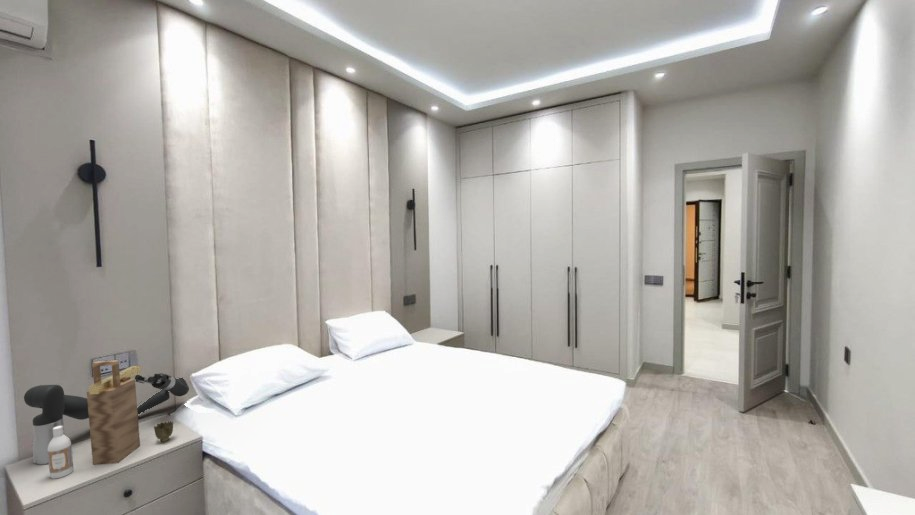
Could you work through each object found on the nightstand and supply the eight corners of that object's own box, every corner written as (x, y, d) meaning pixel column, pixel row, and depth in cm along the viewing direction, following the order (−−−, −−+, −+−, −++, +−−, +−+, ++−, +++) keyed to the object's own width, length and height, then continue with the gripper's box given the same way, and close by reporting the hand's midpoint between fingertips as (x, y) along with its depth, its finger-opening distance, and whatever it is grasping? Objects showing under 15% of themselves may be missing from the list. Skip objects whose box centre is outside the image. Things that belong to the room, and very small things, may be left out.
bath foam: (47, 481, 159) (43, 433, 158) (52, 473, 165) (48, 426, 163) (71, 475, 163) (67, 428, 161) (75, 467, 168) (71, 421, 167)
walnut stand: (92, 465, 170) (84, 365, 167) (116, 447, 183) (109, 355, 181) (118, 462, 171) (110, 364, 168) (140, 445, 185) (133, 354, 182)
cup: (166, 444, 185) (165, 428, 185) (151, 445, 185) (149, 428, 185) (178, 436, 192) (176, 420, 192) (163, 436, 193) (162, 420, 192)
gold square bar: (89, 394, 165) (88, 386, 165) (132, 373, 191) (131, 366, 191) (98, 393, 166) (98, 385, 165) (140, 372, 191) (139, 365, 191)
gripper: (176, 388, 211) (159, 383, 197) (147, 390, 209) (127, 385, 195) (179, 373, 214) (162, 367, 200) (151, 375, 213) (131, 369, 198)
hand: (145, 376), depth 198 cm, fingers open, 8 cm apart
